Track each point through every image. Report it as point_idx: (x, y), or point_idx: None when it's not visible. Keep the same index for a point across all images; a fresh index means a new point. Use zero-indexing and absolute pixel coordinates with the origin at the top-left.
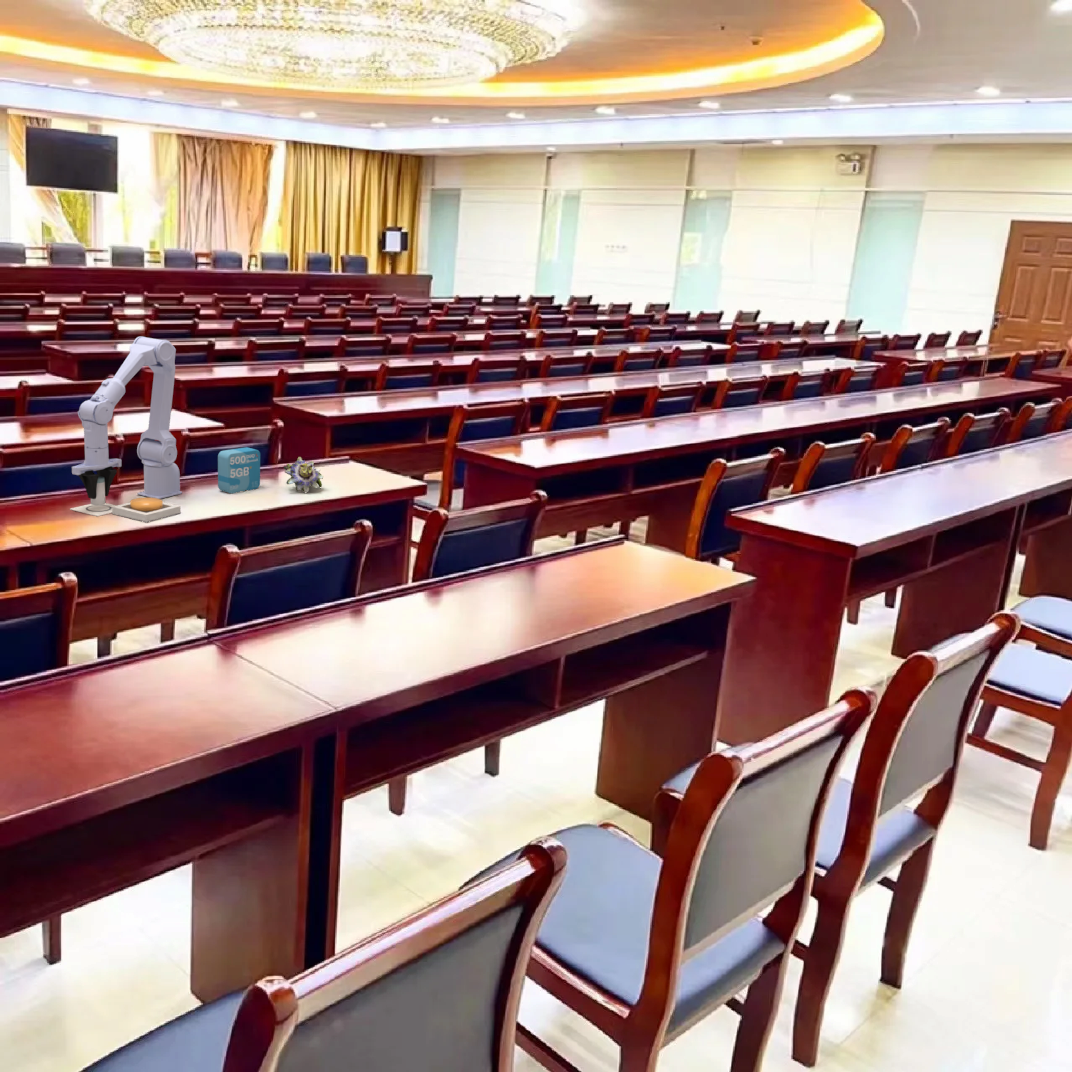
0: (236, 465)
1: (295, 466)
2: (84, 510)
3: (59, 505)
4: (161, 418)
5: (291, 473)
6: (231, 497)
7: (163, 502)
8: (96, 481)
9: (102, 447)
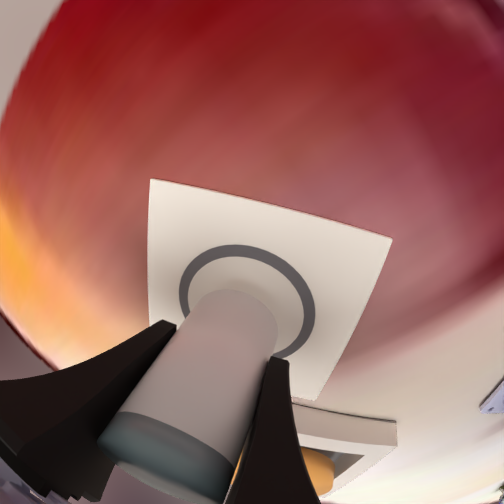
0: None
1: None
2: (170, 267)
3: (191, 63)
4: None
5: None
6: (490, 467)
7: (350, 479)
8: (108, 459)
9: None
